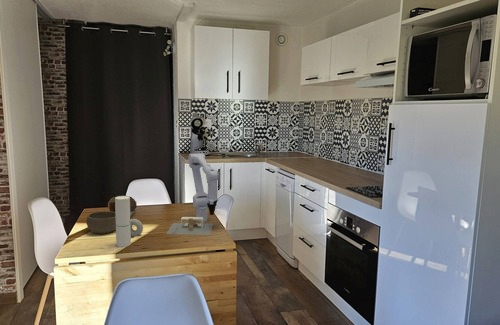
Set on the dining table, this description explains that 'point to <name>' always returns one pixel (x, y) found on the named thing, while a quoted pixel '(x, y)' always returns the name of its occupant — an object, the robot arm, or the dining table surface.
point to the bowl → (101, 222)
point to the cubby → (197, 230)
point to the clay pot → (112, 205)
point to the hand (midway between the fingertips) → (212, 213)
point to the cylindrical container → (122, 221)
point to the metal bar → (174, 230)
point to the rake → (191, 224)
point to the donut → (137, 224)
